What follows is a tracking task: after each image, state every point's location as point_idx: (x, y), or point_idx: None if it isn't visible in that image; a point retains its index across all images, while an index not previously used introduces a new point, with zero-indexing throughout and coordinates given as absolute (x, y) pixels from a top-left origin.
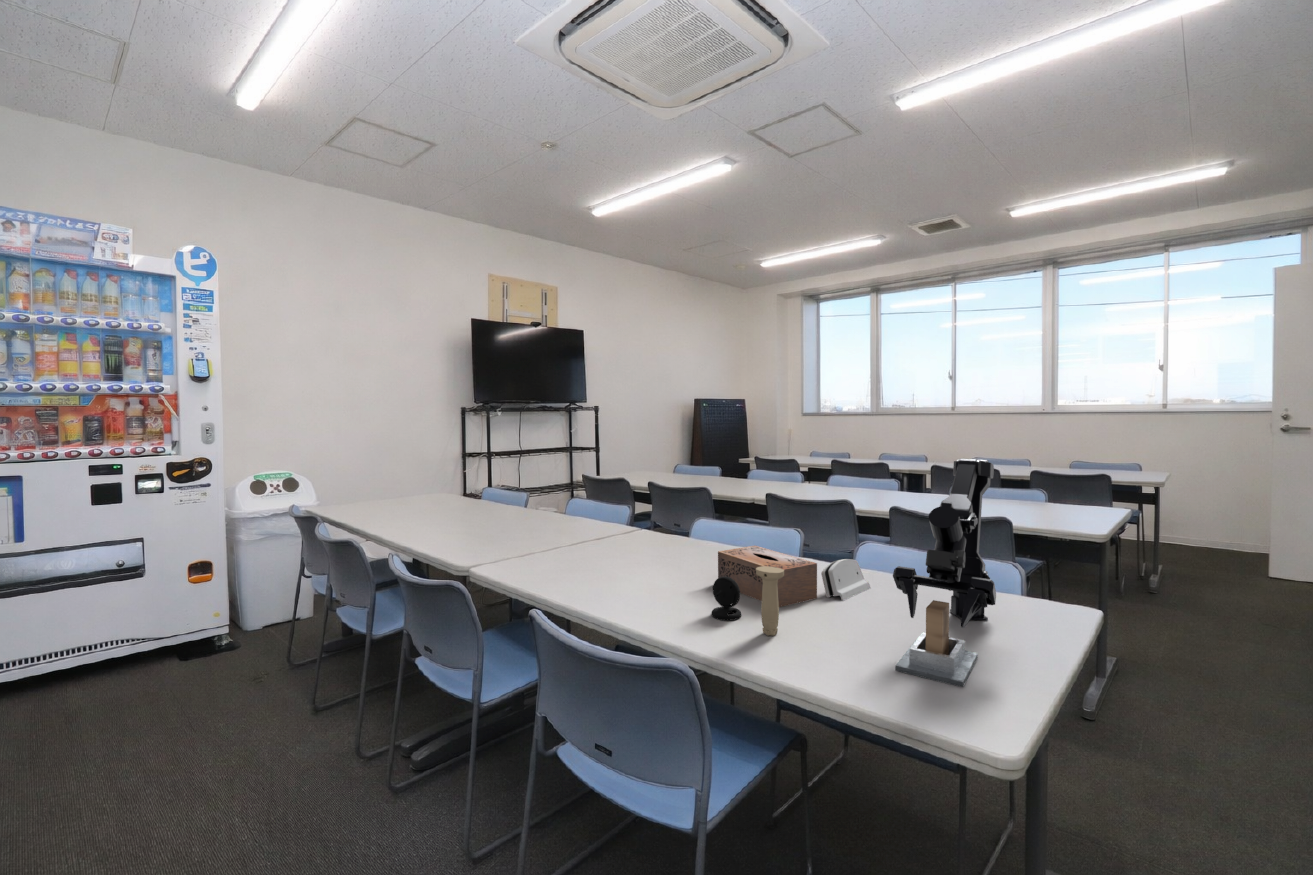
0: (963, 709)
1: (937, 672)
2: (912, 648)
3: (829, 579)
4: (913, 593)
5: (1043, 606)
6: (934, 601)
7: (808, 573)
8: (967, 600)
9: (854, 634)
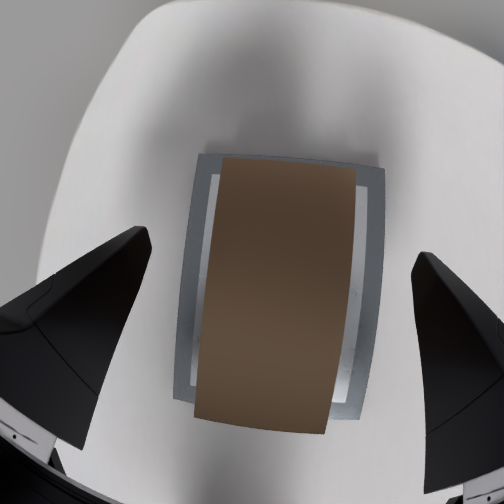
0: (203, 66)
1: None
2: (359, 195)
3: None
4: (496, 359)
5: None
6: (313, 403)
7: None
8: (27, 318)
9: None
